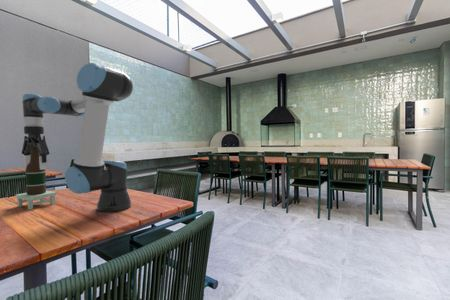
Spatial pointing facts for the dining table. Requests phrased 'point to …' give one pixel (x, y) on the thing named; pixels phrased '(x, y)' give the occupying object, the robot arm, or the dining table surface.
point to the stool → (35, 197)
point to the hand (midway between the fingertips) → (35, 168)
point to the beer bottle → (35, 174)
